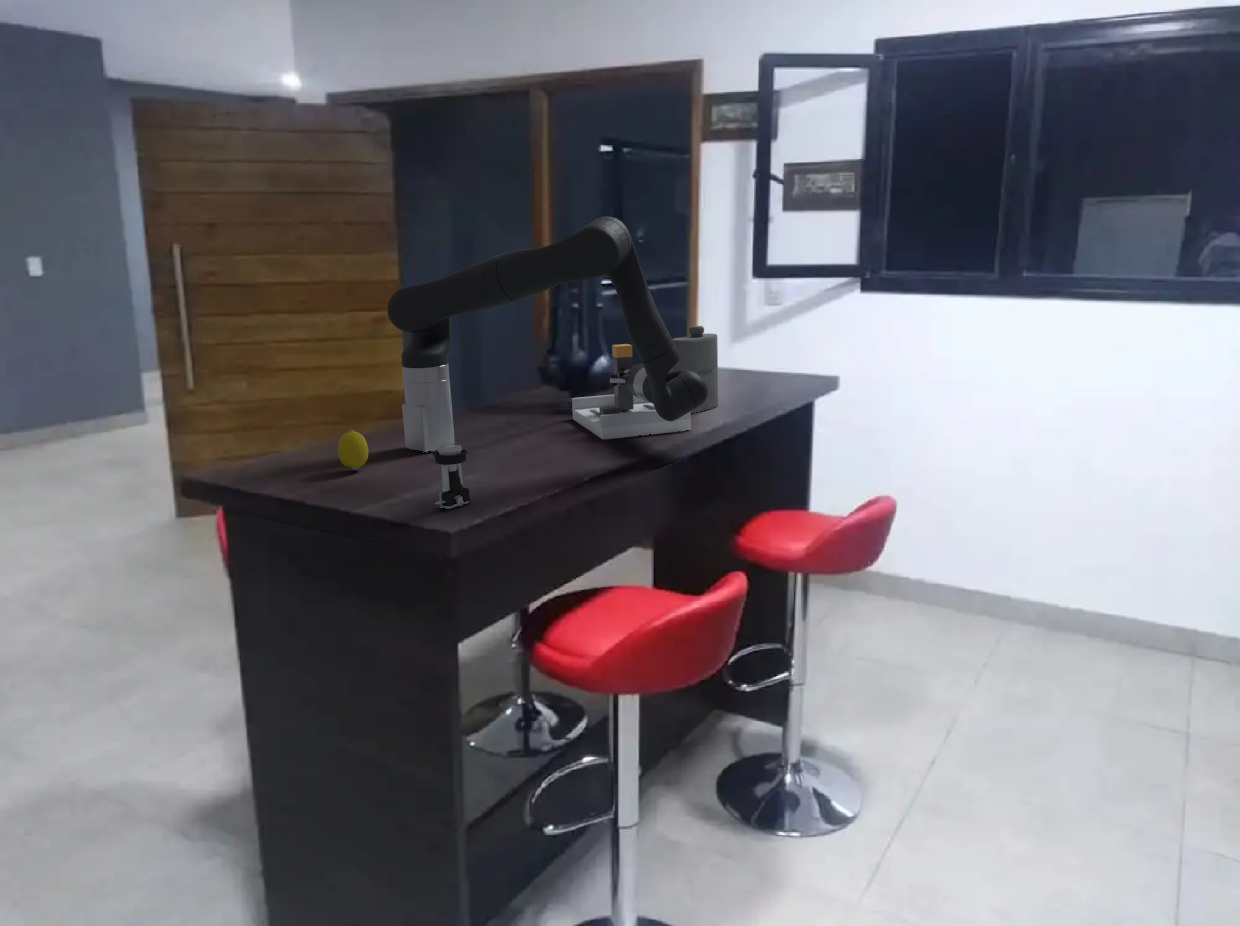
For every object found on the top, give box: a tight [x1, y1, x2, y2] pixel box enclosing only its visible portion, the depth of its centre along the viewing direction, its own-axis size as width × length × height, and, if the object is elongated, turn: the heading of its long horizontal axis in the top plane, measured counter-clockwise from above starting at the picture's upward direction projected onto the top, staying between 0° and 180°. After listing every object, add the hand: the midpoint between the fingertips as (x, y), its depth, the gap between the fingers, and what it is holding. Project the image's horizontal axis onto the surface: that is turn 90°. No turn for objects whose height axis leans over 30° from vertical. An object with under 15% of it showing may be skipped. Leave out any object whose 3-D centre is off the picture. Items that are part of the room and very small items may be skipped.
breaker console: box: [571, 394, 692, 440], centre depth 204 cm, size 24×20×6 cm
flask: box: [670, 325, 719, 414], centre depth 217 cm, size 15×6×20 cm, turn 138°
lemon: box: [337, 429, 369, 469], centre depth 171 cm, size 6×6×8 cm
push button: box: [432, 443, 471, 506], centre depth 145 cm, size 7×5×10 cm
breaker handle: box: [611, 343, 634, 411], centre depth 205 cm, size 3×4×14 cm
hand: (624, 372), depth 204 cm, fingers closed
